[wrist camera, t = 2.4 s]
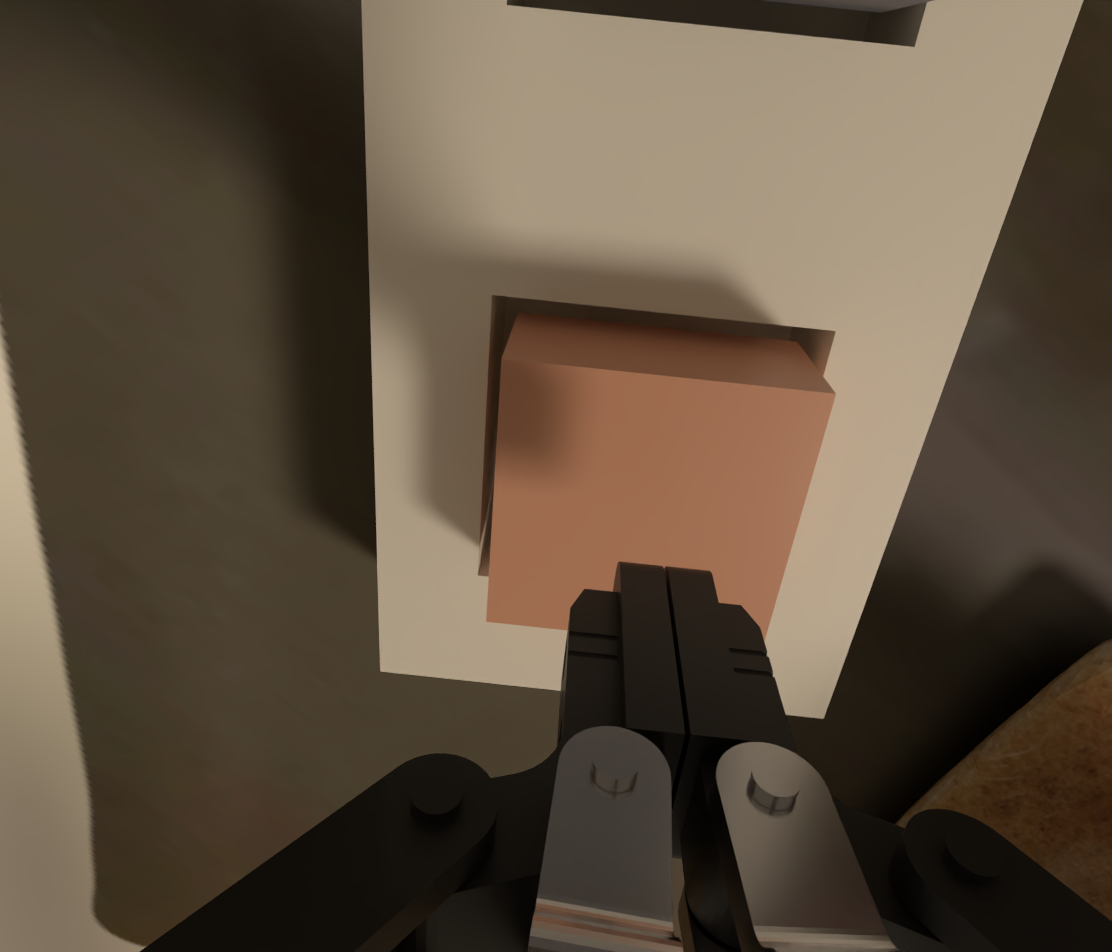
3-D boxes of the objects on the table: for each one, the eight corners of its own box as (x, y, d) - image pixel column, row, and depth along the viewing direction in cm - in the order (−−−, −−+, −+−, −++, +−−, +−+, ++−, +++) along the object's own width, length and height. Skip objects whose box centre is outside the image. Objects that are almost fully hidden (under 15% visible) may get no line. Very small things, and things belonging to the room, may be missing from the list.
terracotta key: (518, 312, 16) (501, 359, 13) (796, 341, 16) (835, 394, 13) (502, 545, 19) (485, 621, 16) (739, 570, 19) (761, 651, 16)
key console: (412, -804, 11) (327, -1203, 8) (1204, -727, 11) (1478, -1093, 8) (413, 582, 24) (380, 671, 20) (790, 623, 24) (823, 718, 20)
